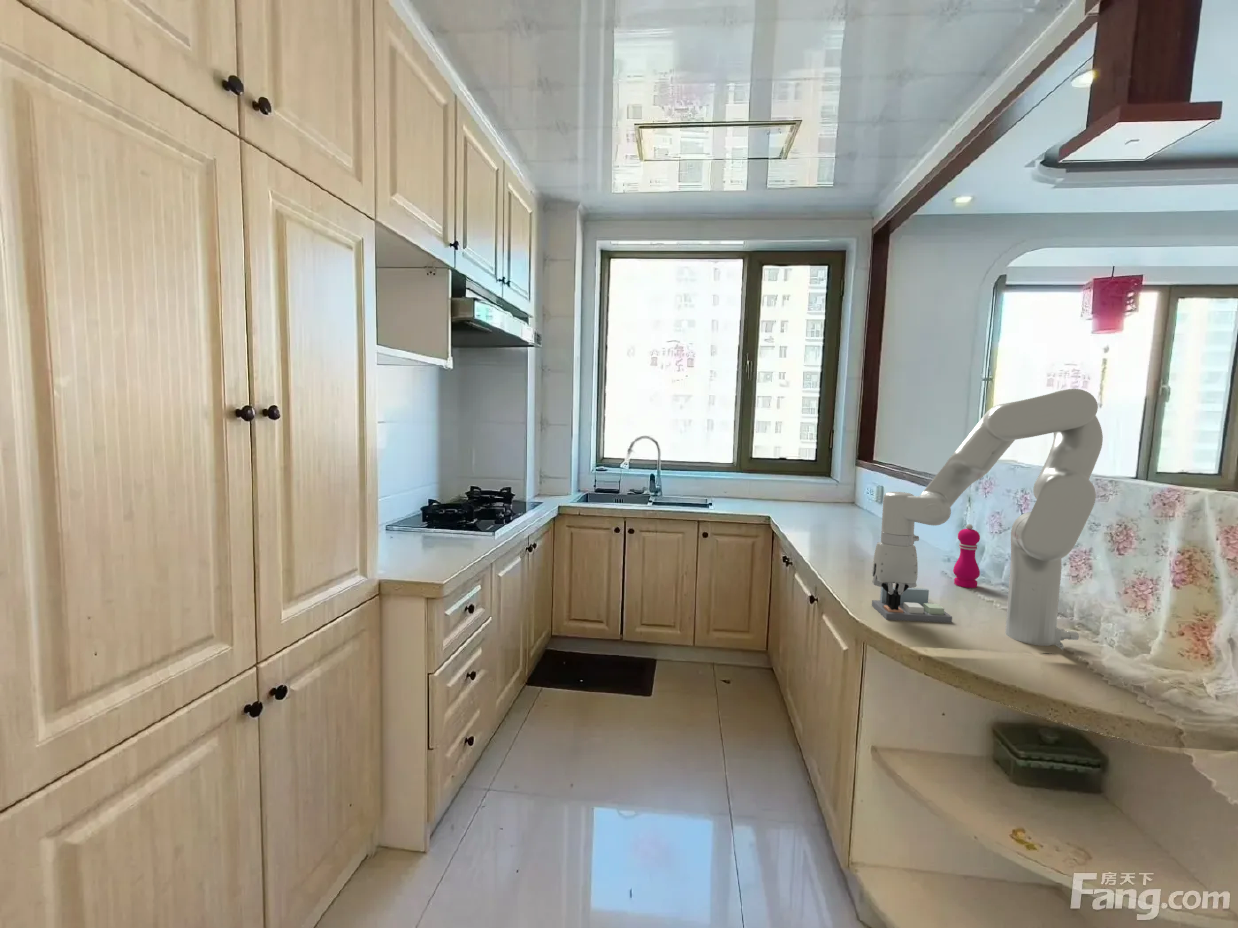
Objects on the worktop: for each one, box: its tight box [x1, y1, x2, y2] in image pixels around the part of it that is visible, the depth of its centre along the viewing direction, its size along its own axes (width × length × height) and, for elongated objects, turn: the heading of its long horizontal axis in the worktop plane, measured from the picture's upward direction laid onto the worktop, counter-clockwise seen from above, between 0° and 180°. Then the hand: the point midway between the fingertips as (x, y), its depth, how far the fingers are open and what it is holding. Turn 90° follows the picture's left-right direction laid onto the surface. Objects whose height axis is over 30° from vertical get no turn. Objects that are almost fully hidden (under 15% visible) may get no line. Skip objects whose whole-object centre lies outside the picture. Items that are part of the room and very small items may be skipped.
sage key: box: [923, 602, 945, 615], centre depth 142 cm, size 4×4×3 cm
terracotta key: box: [884, 605, 903, 613], centre depth 143 cm, size 4×4×3 cm
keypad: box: [871, 586, 953, 624], centre depth 144 cm, size 16×10×7 cm, turn 84°
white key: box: [903, 602, 924, 614], centre depth 142 cm, size 4×4×3 cm
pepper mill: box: [952, 523, 981, 589], centre depth 174 cm, size 7×7×20 cm
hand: (892, 607), depth 143 cm, fingers closed
